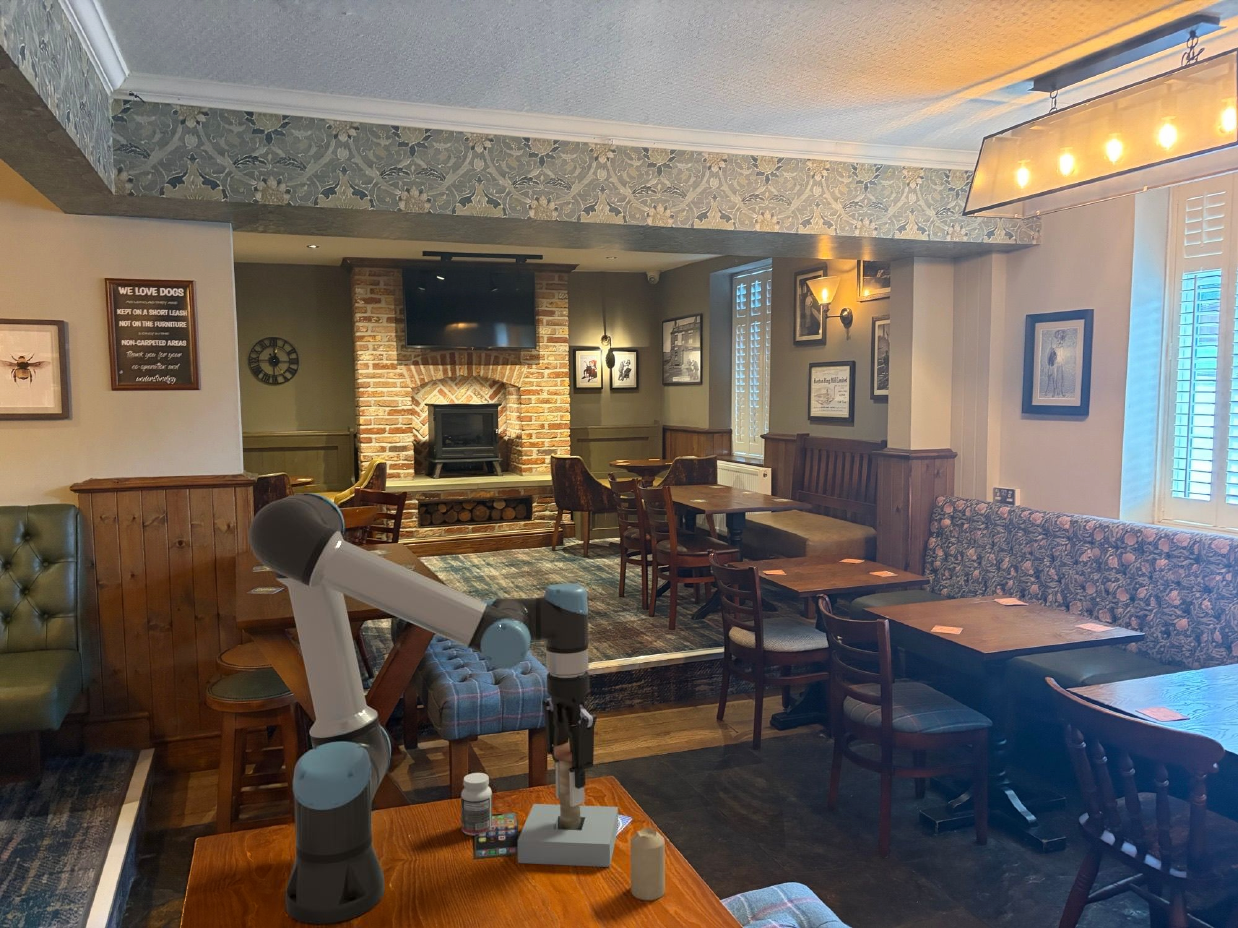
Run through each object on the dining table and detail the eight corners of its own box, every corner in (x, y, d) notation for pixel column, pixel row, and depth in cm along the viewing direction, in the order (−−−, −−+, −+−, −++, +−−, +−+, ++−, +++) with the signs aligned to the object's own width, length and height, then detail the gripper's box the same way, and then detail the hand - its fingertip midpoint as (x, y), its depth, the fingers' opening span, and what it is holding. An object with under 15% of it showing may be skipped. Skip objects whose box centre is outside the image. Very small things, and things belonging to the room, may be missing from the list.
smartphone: (474, 861, 151) (474, 854, 151) (475, 821, 165) (474, 815, 165) (520, 857, 152) (520, 850, 152) (517, 817, 167) (517, 811, 167)
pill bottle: (468, 820, 165) (468, 770, 164) (496, 823, 163) (496, 772, 163) (456, 835, 159) (456, 782, 159) (485, 838, 158) (485, 785, 157)
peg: (553, 832, 153) (551, 752, 152) (558, 818, 158) (556, 741, 157) (583, 833, 152) (581, 753, 151) (587, 819, 157) (586, 741, 157)
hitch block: (518, 862, 149) (517, 840, 149) (533, 824, 163) (533, 803, 163) (609, 866, 148) (609, 843, 147) (618, 827, 161) (617, 806, 161)
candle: (662, 902, 137) (661, 841, 136) (628, 898, 138) (627, 838, 137) (667, 883, 142) (666, 824, 141) (634, 880, 143) (633, 821, 142)
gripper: (613, 677, 149) (615, 809, 151) (558, 657, 162) (560, 779, 164) (578, 686, 145) (581, 822, 146) (524, 665, 157) (527, 790, 159)
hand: (570, 799), depth 155 cm, fingers closed on peg, 3 cm apart
